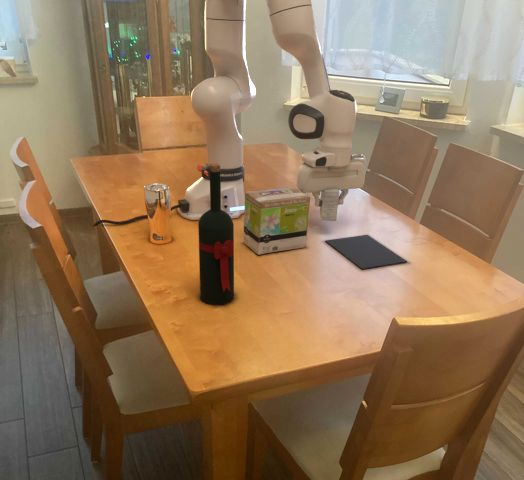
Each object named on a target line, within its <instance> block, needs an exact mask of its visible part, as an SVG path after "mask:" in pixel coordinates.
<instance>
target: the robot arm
mask: <svg viewBox="0 0 524 480" xmlns="http://www.w3.org/2000/svg"><path fill="white" fill-rule="evenodd" d="M265 2H266V6H267V11H268V17H269V18H268V19H269V23H270V28H271V33H272V35H273V37H274V40H275V43H276V44H277V45H278V47H279V48H280V49H282V51H285V53H288V54H290V55H291V56H292V57H294V58H295V59H296V60H297V62H298V63H299V64H300V66H301V69H302V73H303V76H304V80H305V84H306V88H307V93H308V100H305V101H302V102H299V103H297V104H296V105H294V106H293V107H292V108H291V109H290V112H289V114H288V120H287V121H288V128H289V130H290V132H291V134H292V135H293V136H294V137H296V139H299V140H307V141H308V140H318V141H319V146H318V147H315V148H313V149H311V150H309V151H306V152H304V153H303V154H301V161H302V162H303V163H301V165H300V167H299V169H298V173H297V181H296V189H297V190H299V191H301V192H302V193H304V194H309V193H311V194H312V196H313V198H314V206H315V207H317V208H318V207H319V208H320V206H322V200H321V198H320V197H319V196H321V192H323V191H324V190H327V189H337V188H338V189H339V192H340V193H339V201H338V206H339V205H344V200H345V198H346V197H347V195H348V194H349V190H357V189H362V188H363V187H364V185H365V180H366V165H367V159H366V156H364V155H363V154H352V150H353V149H352V148H353V135H354V131H355V127H356V121H357V120H356V118H357V102H356V98H355V97H354V96H353V95H352V94H351V93H349V92H346V91H344V90H338V89H332V87H331V83H330V79H329V74H328V69H327V65H326V60H325V56H324V52H323V48H322V45H321V42H320V39H319V35H318V32H317V27H316V21H315V16H314V11H313V6H312V5H313V4H312V0H265ZM246 5H247V0H205V1H204V49H205V53H206V54H207V56H208V57H209V58H210V60H211V61H210V62H211V64H212V68H213V73H214V76H213V77H209V78H206V79H204V80H202V81H200V82H199V83H198V84H196V86H195V87H194V88H193V90H192V91H191V95H190V104H191V107H192V110H193V112H194V113H195V114H196V116H197V117H198V118H199V120H200V121H201V124H202V127H203V130H204V135H205V142H206V164H205V165H202V164H201V163H199V164H197V165H196V170H197V171H198V172H200V173H201V177H200V178H198V179H197V180H196V181H195V182H193V183H192V184H191V185H189V187H188V188H186V190H185V193H184V198H183V199H178V200H177V203H178V204H176V205H172V206H171V212H172V211H173V210H175V209H176V210H177V213H178V214H179V215H180V216H181V217H182V218H184V219H186V220H190V221H199V219H200V217H201V216H202V215H203V214H204V213H205V212H207V211H208V210H210V170H211V169H210V164H219V165H220V174H221V210H223V211H225V212H226V213H228V214H229V216H230V217H231V219H239V217H240V216H241V215H242V214H243V215H244V207H245V187H244V182H245V175H246V174H245V173H246V172H245V164H244V138H243V136H242V135H241V133H240V132H239V130H238V127H237V123H236V115H238V114H242V113H243V112H245V111H247V110H248V109H249V108H250V107H251V106H252V105H253V104H254V102H255V100H256V95H257V91H256V90H257V89H256V86H255V83H254V82H253V80H252V79H251V77H250V73H249V68H248V64H247V63H248V62H247V56H246V8H247V6H246ZM142 219H148V216H147V214H142V215H138V216H134V217H133V218H129V219H125V220H122V221H121V220H120V221H116V220H111V219H100V220H98V221H96V222H94V224H93V225H92V226H93V227H98V226H99V225H101V224H111V225H117V226H118V225H126V224H130V223H132V222H135V221H138V220H142Z"/></svg>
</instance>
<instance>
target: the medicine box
mask: <svg viewBox="0 0 524 480" xmlns="http://www.w3.org/2000/svg"><path fill="white" fill-rule="evenodd" d="M339 196H340V190H339V189H338V188H337V189H327V190H324V191H323V192H320V199H321V200H322V206H320V207H319V215H320V219H321V221H326V222H327V221H328V222H329V221H330V222H336V221H337V216H338V208H339V205H338V201H339Z"/></svg>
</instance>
